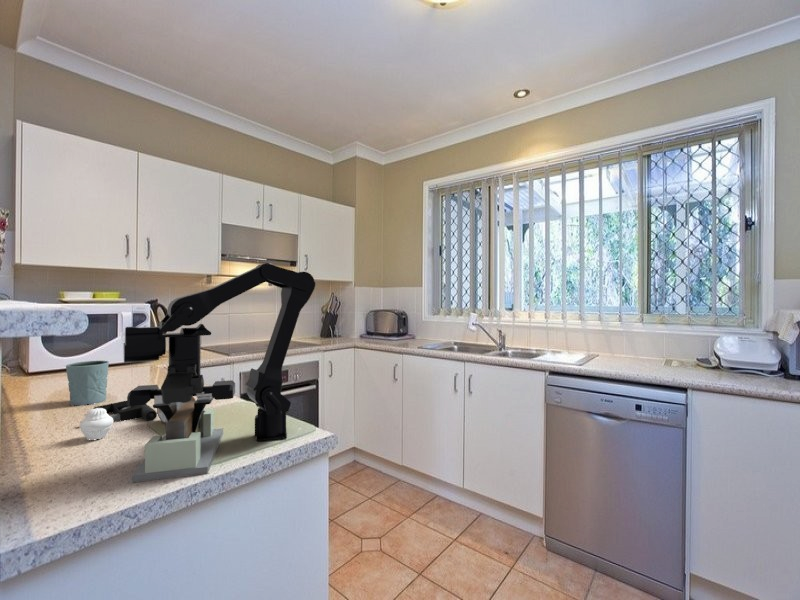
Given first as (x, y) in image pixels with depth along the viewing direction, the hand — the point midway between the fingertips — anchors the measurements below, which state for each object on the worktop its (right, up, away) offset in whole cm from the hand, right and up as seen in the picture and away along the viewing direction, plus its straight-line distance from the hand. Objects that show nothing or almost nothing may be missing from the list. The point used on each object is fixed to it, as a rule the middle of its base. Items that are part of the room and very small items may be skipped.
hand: (184, 434), depth 79 cm
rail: (0, -1, 0) cm, 1 cm away
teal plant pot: (-51, -4, +39) cm, 65 cm away
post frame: (0, -4, 0) cm, 4 cm away
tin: (-12, -4, +18) cm, 22 cm away
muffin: (-25, -4, +9) cm, 27 cm away
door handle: (-32, -5, +24) cm, 40 cm away
